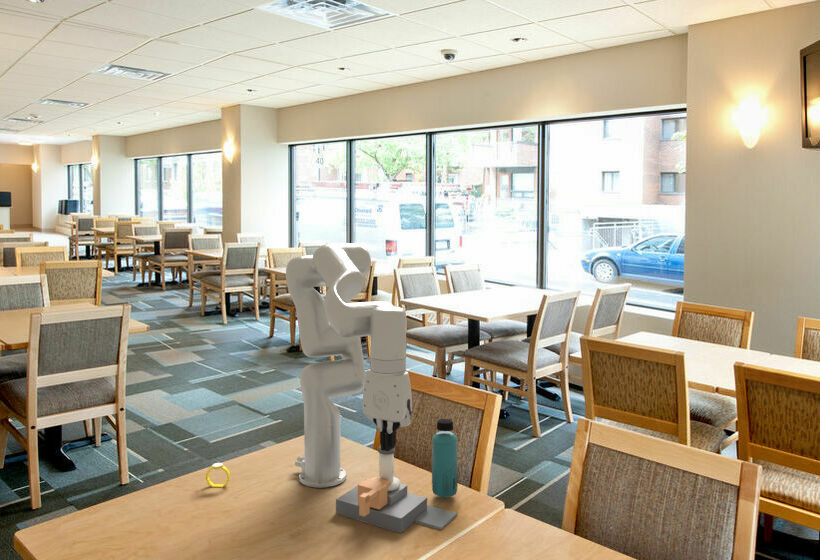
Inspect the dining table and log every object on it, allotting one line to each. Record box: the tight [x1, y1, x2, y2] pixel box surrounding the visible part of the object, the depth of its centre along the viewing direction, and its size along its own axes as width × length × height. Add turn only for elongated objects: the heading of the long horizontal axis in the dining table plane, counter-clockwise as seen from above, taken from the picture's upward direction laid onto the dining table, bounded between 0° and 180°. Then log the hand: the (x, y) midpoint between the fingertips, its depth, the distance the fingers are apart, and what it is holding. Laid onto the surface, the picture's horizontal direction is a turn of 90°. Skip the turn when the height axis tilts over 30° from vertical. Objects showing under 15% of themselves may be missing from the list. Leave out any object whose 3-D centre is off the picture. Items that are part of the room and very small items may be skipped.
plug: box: [376, 445, 401, 494], centre depth 152 cm, size 6×6×12 cm
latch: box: [357, 476, 391, 517], centre depth 146 cm, size 6×11×5 cm, turn 150°
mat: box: [414, 504, 458, 531], centre depth 149 cm, size 8×8×1 cm
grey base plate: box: [335, 482, 428, 534], centre depth 151 cm, size 18×12×6 cm, turn 60°
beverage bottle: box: [431, 418, 459, 498], centre depth 159 cm, size 6×7×20 cm
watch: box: [205, 462, 231, 488], centre depth 165 cm, size 6×3×6 cm, turn 89°
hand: (387, 448), depth 137 cm, fingers closed
